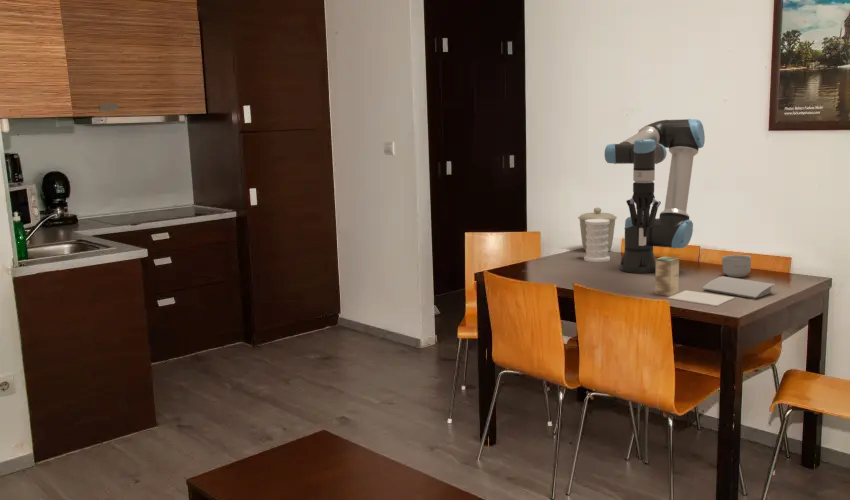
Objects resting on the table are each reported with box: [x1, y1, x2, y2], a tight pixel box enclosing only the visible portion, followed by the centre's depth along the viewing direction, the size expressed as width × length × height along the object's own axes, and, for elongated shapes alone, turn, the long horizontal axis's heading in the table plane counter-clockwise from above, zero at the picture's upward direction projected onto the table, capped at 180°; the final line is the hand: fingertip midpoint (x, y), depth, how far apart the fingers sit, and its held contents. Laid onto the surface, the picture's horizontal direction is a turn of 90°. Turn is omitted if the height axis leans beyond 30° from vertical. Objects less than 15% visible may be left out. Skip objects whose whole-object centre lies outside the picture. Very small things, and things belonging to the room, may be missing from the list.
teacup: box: [721, 254, 752, 278], centre depth 298 cm, size 14×11×8 cm
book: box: [702, 275, 776, 300], centre depth 273 cm, size 15×23×4 cm, turn 39°
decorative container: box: [583, 219, 611, 263], centre depth 339 cm, size 12×12×18 cm
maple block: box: [654, 255, 680, 297], centre depth 273 cm, size 6×6×13 cm
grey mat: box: [667, 289, 735, 307], centre depth 265 cm, size 18×14×1 cm
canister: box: [578, 206, 618, 251], centre depth 360 cm, size 18×18×21 cm
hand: (642, 245), depth 278 cm, fingers closed
